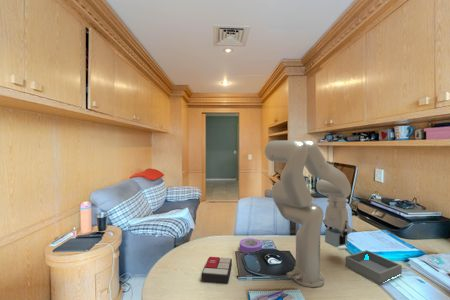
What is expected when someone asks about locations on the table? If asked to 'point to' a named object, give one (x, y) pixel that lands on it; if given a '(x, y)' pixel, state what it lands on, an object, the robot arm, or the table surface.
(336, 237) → the grey block
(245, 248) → the masking tape
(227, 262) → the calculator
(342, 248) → the hard drive
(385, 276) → the grey crate
